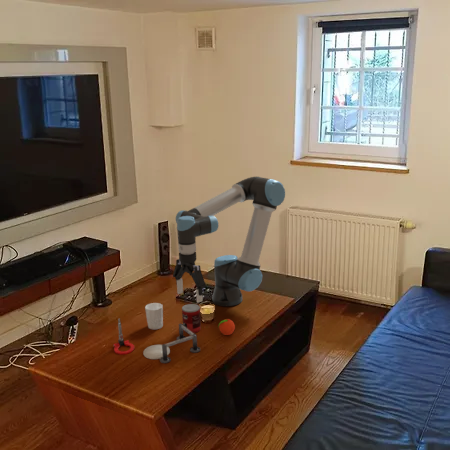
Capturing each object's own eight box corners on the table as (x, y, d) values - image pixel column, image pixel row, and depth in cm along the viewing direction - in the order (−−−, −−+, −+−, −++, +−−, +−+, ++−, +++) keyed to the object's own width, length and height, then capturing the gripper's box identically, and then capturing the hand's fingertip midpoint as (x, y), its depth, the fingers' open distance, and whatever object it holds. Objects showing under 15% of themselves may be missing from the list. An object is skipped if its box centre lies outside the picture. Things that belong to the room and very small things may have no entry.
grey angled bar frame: (183, 335, 243) (182, 321, 241) (202, 350, 229) (201, 335, 227) (145, 348, 233) (144, 333, 231) (162, 364, 220) (161, 349, 218)
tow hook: (137, 352, 231) (130, 342, 239) (134, 325, 227) (128, 315, 235) (117, 357, 228) (111, 346, 236) (114, 330, 223) (108, 320, 231)
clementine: (221, 339, 238) (220, 325, 236) (214, 333, 244) (214, 318, 242) (237, 335, 241) (237, 320, 239) (231, 329, 247) (230, 314, 245)
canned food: (184, 325, 252) (182, 303, 249) (201, 325, 251) (200, 303, 248) (182, 333, 244) (180, 311, 241) (200, 333, 244) (199, 310, 241)
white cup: (161, 330, 248) (159, 310, 245) (144, 329, 250) (142, 309, 247) (166, 322, 255) (164, 303, 252) (150, 321, 257) (148, 302, 254)
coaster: (162, 343, 237) (162, 342, 237) (174, 353, 228) (174, 352, 228) (139, 351, 231) (139, 349, 231) (150, 362, 222) (150, 360, 222)
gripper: (163, 247, 244) (166, 291, 250) (199, 260, 226) (201, 308, 232) (176, 243, 249) (179, 287, 255) (212, 256, 231) (214, 302, 237)
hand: (189, 297), depth 243 cm, fingers open, 13 cm apart
